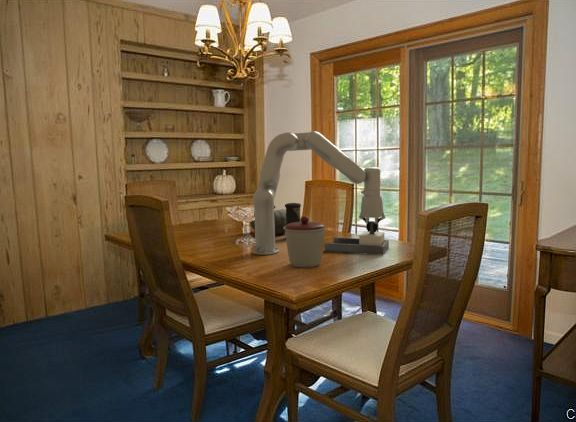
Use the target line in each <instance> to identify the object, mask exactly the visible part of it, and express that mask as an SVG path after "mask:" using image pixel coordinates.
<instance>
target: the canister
mask: <svg viewBox="0 0 576 422" xmlns="http://www.w3.org/2000/svg"><path fill="white" fill-rule="evenodd" d="M300 219H301V222H294V223H289V224H287V225H286V226H285V227H283V228H284V230H285V232H284V233H285V239H286V247H287V253H288V254H287V255H288V260H289V263H290V264H291V266H293V267H295V268H304V269H307V268H309V269H310V268H313V267H314V268H315V267H317V266H319V265H320V264H321V262H322V259H323V251H324V244H325V243H324V242H325V230H326V229H327V226H326V225H324V224H323V223H322V222H318V221H317V222H316V221H310V219H309V217H308V215H307V216H306V215H303V216H300Z"/></svg>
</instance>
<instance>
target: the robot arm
mask: <svg viewBox="0 0 576 422" xmlns="http://www.w3.org/2000/svg"><path fill="white" fill-rule="evenodd" d="M308 150H311V151H312V152H314V154H316V155H317V156H318V157H319V158H320V159H322V160H323V161H324V162H325V163H327V164H328V165H329V166H331V167H333V168H334V169H336V170H337V171H338V172H340V173H341V174H342V175H344V176H345V177H346V178H347V179H348V180H349V182H351V183H353V184H356V185H359V184H362V183H363V190H361V192H360V194H362V195H363V196H362V197H361V201H360V202H361V203H360V213H359V216H358V218H359V219H361V220H362V221H364V223H365V225H366V228H365V229H366V230H367V232H370V219H371V218H374V221H375V224H374V232H378V228H379V222H381V221H383V220H385V219H386V215H385V213H384V205H383V204H384V203H383V198H382V195H381V169H380V167H376V166H374V167H372V166H369V167H361V166H360V165H358V163H356V162H355V161H354V160H352V159H351V158H350V157H349V156H348V155H346V154H345V153H344V152H343V151H342V150H341V149H339V147H337V146H336V145H334V144H333V142H331V141H330V140H329V139H327V137H325V136H324V135H323V134H321V133H320V132H319V131H317V130H312V131H309V132H308V131H307V132H298V133H296V132H283V133H280V134H278V135H276V136H275V137H274V138H273V139H271V140H270V142H269V144H268V146H267V149H266V152H265V155H264V159H263V163H262V166H261V170H260V172H259V181H258V184H257V189H256V191H255V192H254V194H253V199H252V201H253V213H254V217H255V230H254V242H255V243H254V244H255V247H254V248H252V250H251V252H252V253H253V254H254V255H259V256H260V255H261V256H262V255H263V256H264V255H265V256H266V255H274V254H277V253H279V249H278V248H277V247H276V235H275V222H274V211H275V208H274V206H275V197H276V195H277V194H276V193H277V189H278V186H279V182H280V177H281V167H282V164H283V160H284V157H285V154H286V153H287V152H292V151H308Z"/></svg>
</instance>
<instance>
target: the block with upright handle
mask: <svg viewBox="0 0 576 422" xmlns="http://www.w3.org/2000/svg"><path fill="white" fill-rule="evenodd" d="M369 222H370V231H369V232H368V231H363V232H361V234H358V239H359V245H374V246H381V245H382V244H383V243H384V240H385V231H380V232H379V231H376V232H374V224H375V220H374V221H373V220H369Z"/></svg>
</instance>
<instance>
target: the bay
mask: <svg viewBox="0 0 576 422" xmlns="http://www.w3.org/2000/svg"><path fill="white" fill-rule="evenodd" d="M389 246H390V240H389V239H384V243H383V244H382V245H381V246H374V245H359V237H358V238H355V237H354V238H353V237H338V236H337V237H336V236H335V237H334V236H333V240H332V242H325V243H324V252H327V253H328V252H329V253H330V252H331V253H343V252H351V253H350V254H359V253H367V254H366V255H374V254H382V255H381V256H384V255H383V254H386V252H387V251H388V250H389V248H390V247H389ZM387 249H388V250H387ZM386 250H387V251H386ZM385 251H386V252H385Z"/></svg>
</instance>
